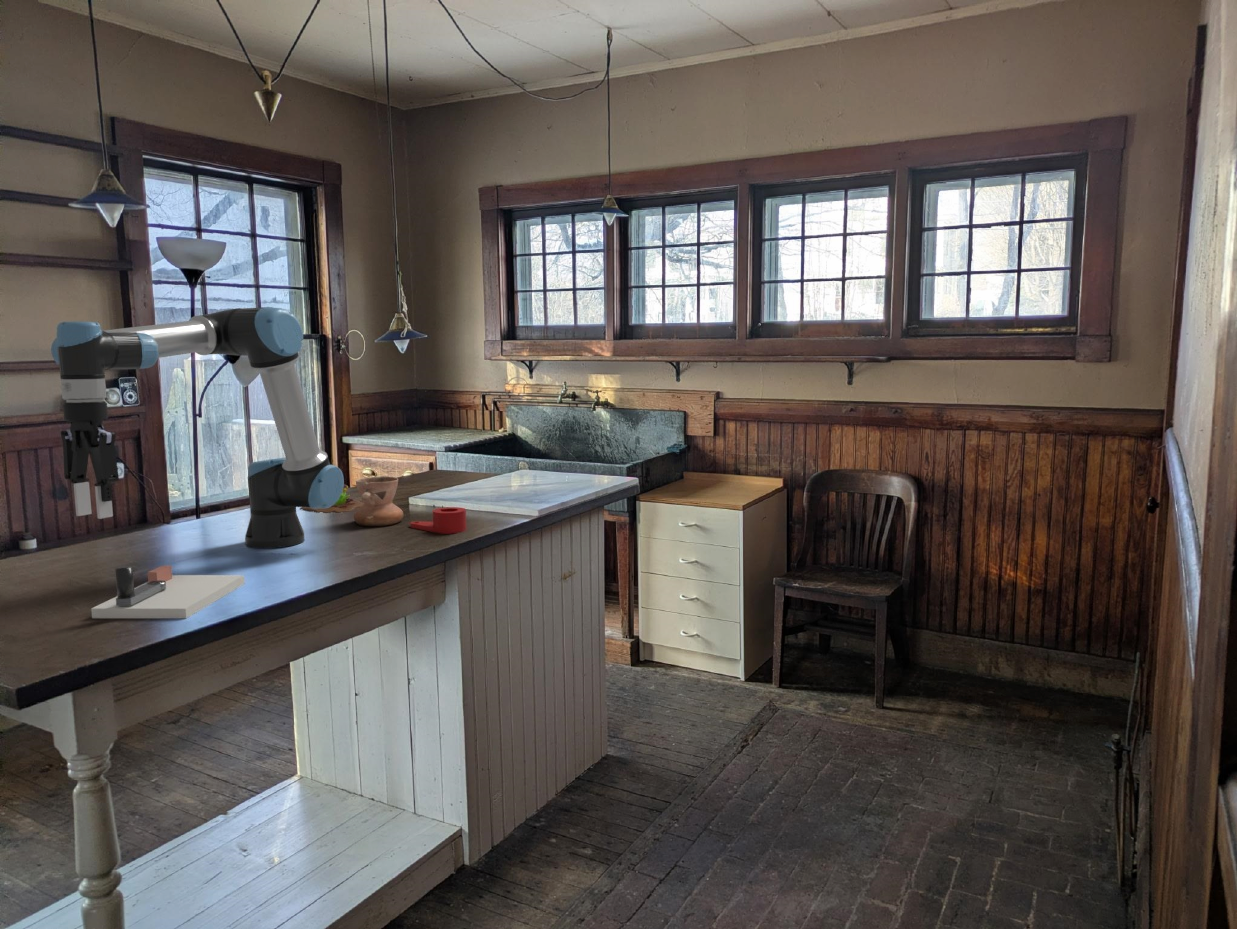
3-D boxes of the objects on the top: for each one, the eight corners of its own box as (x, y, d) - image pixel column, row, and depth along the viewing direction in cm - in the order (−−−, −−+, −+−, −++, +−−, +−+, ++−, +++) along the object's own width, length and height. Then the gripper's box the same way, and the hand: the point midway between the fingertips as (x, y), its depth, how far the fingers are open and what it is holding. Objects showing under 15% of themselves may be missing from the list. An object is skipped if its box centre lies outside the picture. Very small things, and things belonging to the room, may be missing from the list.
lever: (472, 530, 259) (471, 508, 258) (455, 537, 250) (454, 514, 250) (420, 526, 266) (419, 504, 265) (402, 532, 257) (401, 510, 256)
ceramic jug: (389, 531, 257) (387, 483, 255) (343, 530, 260) (341, 482, 258) (414, 520, 275) (412, 474, 273) (370, 518, 277) (368, 474, 276)
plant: (331, 505, 303) (329, 473, 302) (378, 509, 296) (377, 476, 295) (289, 516, 285) (287, 481, 284) (338, 520, 278) (337, 484, 276)
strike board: (162, 583, 201) (160, 562, 201) (244, 583, 201) (243, 562, 200) (92, 618, 176) (89, 593, 175) (186, 618, 175) (184, 593, 175)
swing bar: (152, 587, 190) (150, 552, 189) (169, 587, 190) (166, 552, 189) (113, 606, 176) (110, 569, 175) (131, 606, 176) (128, 569, 175)
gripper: (35, 400, 175) (46, 515, 178) (96, 402, 167) (106, 523, 170) (73, 398, 182) (83, 509, 185) (134, 400, 173) (143, 516, 176)
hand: (94, 515), depth 177 cm, fingers open, 6 cm apart
